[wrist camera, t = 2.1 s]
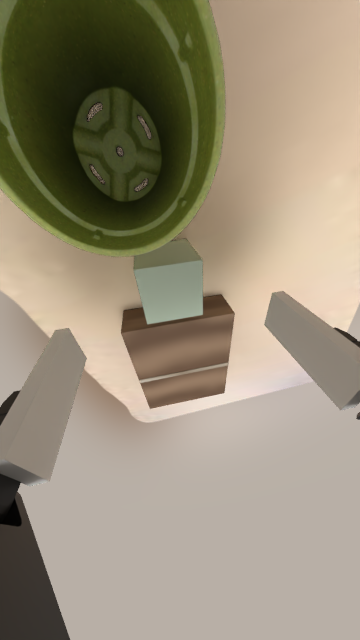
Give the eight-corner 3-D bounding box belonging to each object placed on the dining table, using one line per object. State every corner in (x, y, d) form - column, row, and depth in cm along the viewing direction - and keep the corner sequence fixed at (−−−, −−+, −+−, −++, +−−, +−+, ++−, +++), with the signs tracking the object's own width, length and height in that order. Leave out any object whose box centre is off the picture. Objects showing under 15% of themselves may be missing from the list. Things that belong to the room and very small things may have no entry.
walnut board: (123, 310, 22) (120, 333, 18) (221, 294, 23) (235, 313, 19) (149, 385, 31) (150, 409, 28) (216, 372, 32) (224, 393, 29)
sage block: (135, 245, 17) (133, 270, 13) (186, 238, 18) (202, 259, 13) (145, 291, 21) (147, 324, 16) (188, 284, 21) (202, 314, 16)
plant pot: (205, 173, 15) (260, 168, 8) (122, 246, 17) (112, 290, 11) (118, -13, 10) (69, -470, 3) (15, 130, 12) (-150, 64, 5)
